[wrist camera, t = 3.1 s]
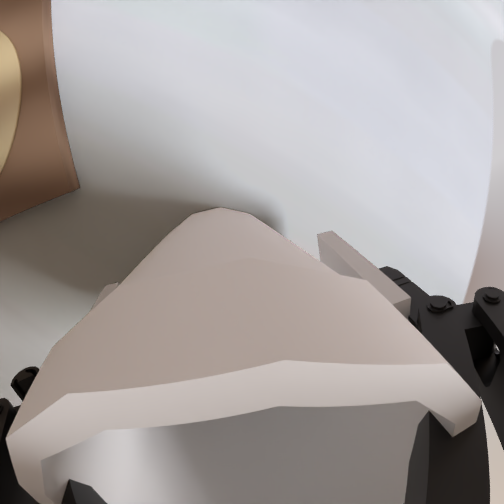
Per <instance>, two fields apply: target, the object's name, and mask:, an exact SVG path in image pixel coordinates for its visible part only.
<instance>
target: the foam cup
mask: <svg viewBox="0 0 504 504" xmlns="http://www.w3.org/2000/svg"><path fill="white" fill-rule="evenodd" d="M481 404H482V400H481V399H480V398H479V397H478V396H477V395H476V393H475V392H474V391H473V390H472V389H471V388H470V386H469V385H468V384H467V383H466V382H465V381H464V380H463V379H462V377H461V376H460V375H459V374H458V373H457V372H456V371H455V370H454V368H453V367H452V366H451V365H450V364H449V363H448V362H447V361H446V360H445V359H444V357H443V356H442V355H441V354H440V353H439V352H438V351H437V350H436V349H435V348H434V347H433V346H432V345H431V344H430V342H429V341H428V340H427V339H426V338H425V337H424V336H423V335H422V334H421V333H420V332H419V331H418V330H417V329H416V328H415V327H414V326H413V325H412V324H411V323H410V322H409V321H408V320H407V319H406V318H405V317H404V316H403V315H402V314H401V313H400V312H399V311H398V310H397V309H396V308H395V307H394V306H393V305H392V304H391V303H390V302H389V301H388V300H387V299H386V298H385V297H384V296H383V295H382V294H381V293H380V292H379V291H378V290H377V289H376V288H375V287H374V286H372V285H371V284H370V283H369V282H368V281H367V280H363V279H358V278H353V277H348V276H343V275H339V274H338V273H336V272H335V271H334V270H332V269H331V268H329V267H328V266H326V265H325V264H323V263H322V262H321V261H319V260H318V259H316V258H315V257H313V256H312V255H310V254H309V253H307V252H306V251H304V250H303V249H302V248H300V247H299V246H297V245H296V244H294V243H293V242H291V241H290V240H288V239H287V238H285V237H284V236H282V235H281V234H279V233H278V232H276V231H275V230H273V229H272V228H270V227H269V226H267V225H266V224H264V223H263V222H261V221H260V220H258V219H257V218H255V217H254V216H252V215H250V214H249V213H245V212H240V211H236V210H231V209H227V208H222V207H219V208H215V209H210V210H206V211H202V212H198V213H193V214H192V215H190V216H189V217H188V218H187V219H185V220H184V221H183V222H182V223H181V224H179V225H178V226H177V227H176V228H174V229H173V230H172V231H171V232H170V233H169V234H168V235H167V236H166V237H165V238H164V239H163V240H162V241H161V242H160V243H159V244H158V245H157V246H156V247H155V248H154V249H153V250H152V251H151V252H150V253H149V254H148V255H147V256H146V257H145V258H144V259H143V260H142V261H141V262H140V263H139V265H138V266H137V267H136V268H135V269H134V270H133V271H132V272H131V273H130V274H129V275H128V276H127V277H126V278H125V280H124V281H123V282H122V283H121V284H120V285H119V286H118V287H117V288H116V289H115V290H114V291H113V292H112V293H110V294H109V295H108V296H107V297H106V298H105V299H104V300H103V301H101V302H100V303H99V304H98V305H97V306H96V307H95V308H94V309H93V310H92V311H90V312H89V313H88V314H87V315H86V316H85V317H84V318H83V319H82V320H81V321H80V322H79V323H77V324H76V325H75V326H74V327H73V328H72V329H71V330H70V331H69V332H68V333H67V334H66V335H65V336H64V337H63V338H62V339H61V340H59V341H58V342H57V343H56V344H55V345H54V346H53V347H52V349H51V351H50V352H49V354H48V356H47V358H46V359H45V361H44V363H43V365H42V366H41V368H40V370H39V372H38V374H37V376H36V377H35V379H34V381H33V383H32V385H31V387H30V389H29V391H28V393H27V394H26V396H25V398H24V400H23V402H22V404H21V406H20V408H19V410H18V413H17V415H16V417H15V419H14V421H13V423H12V425H11V427H10V430H9V432H8V434H7V436H6V442H7V446H8V450H9V454H10V458H11V461H12V464H13V468H14V471H15V474H16V477H17V480H18V483H19V485H20V486H21V487H22V488H23V489H24V490H25V491H27V492H28V493H29V494H30V495H31V496H32V497H33V498H34V499H35V500H36V501H37V502H39V503H40V504H61V502H62V499H63V496H64V493H65V489H66V486H67V483H68V480H69V479H71V480H74V481H77V482H80V483H83V484H86V485H89V486H91V487H92V488H93V489H94V490H95V491H96V492H97V493H98V494H99V495H100V496H101V498H102V499H103V500H104V501H105V502H106V503H107V504H404V502H405V494H406V486H407V477H408V467H409V460H410V457H411V453H412V449H413V445H414V441H415V436H416V432H417V427H418V424H419V423H420V421H421V420H422V419H423V417H424V416H425V415H426V413H427V412H428V411H430V412H431V413H432V414H433V415H434V416H435V418H436V419H437V420H438V421H439V422H440V423H441V424H442V426H443V427H444V428H445V429H446V430H447V431H448V432H449V434H450V435H451V436H452V437H454V436H455V435H457V434H459V433H460V432H462V431H463V430H465V429H467V428H468V427H470V426H471V425H473V424H474V423H476V421H477V417H478V414H479V411H480V407H481Z"/></svg>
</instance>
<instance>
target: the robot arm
mask: <svg viewBox="0 0 504 504" xmlns="http://www.w3.org/2000/svg"><path fill="white" fill-rule="evenodd" d="M317 238H318V246H319V254H320V261H321V262H322V263H323V264H325V265H326V266H328V267H329V268H331V269H332V270H334V271H335V272H336V273H338V274H339V275H343V276H348V277H353V278H358V279H363V280H367V281H368V282H369V283H370V284H371V285H372V286H374V287H375V288H376V289H377V290H378V291H379V292H380V293H381V294H382V295H383V296H384V297H385V298H386V299H387V300H388V301H389V302H390V303H391V304H392V305H393V306H394V307H395V308H396V309H397V310H398V311H399V312H400V313H401V314H402V315H403V316H404V317H405V318H406V319H407V320H408V321H409V322H410V323H411V324H412V325H413V326H414V327H415V328H416V329H417V330H418V331H419V332H420V333H421V334H422V335H423V336H424V337H425V338H426V339H427V340H428V341H429V342H430V344H431V345H432V346H433V347H434V348H435V349H436V350H437V351H438V352H439V353H440V354H441V355H442V356H443V357H444V359H445V360H446V361H447V362H448V363H449V364H450V365H451V366H452V367H453V368H454V370H455V371H456V372H457V373H458V374H459V375H460V376H461V377H462V379H463V380H464V381H465V382H466V383H467V384H468V385H469V386H470V388H471V389H472V390H473V391H474V392H475V393H476V395H477V396H478V397H479V398H480V397H481V398H480V399H482V401H483V403H484V405H485V407H486V409H487V412H488V414H489V416H490V418H491V421H492V423H493V425H494V427H495V430H496V432H497V435H498V437H499V440H500V442H501V445H502V447H503V450H504V292H503V291H502V290H499V289H497V288H494V287H484V288H481V289H479V290H477V291H476V293H475V297H474V302H472V303H466V304H460V305H456V304H455V302H454V301H453V300H451V299H450V298H447V297H444V296H436V295H435V296H429V295H428V294H427V293H425V292H424V291H423V290H422V289H421V288H419V287H418V286H417V285H416V284H414V283H413V282H411V280H409V279H408V278H407V277H405V276H404V275H403V274H402V273H401V272H399V271H398V270H396V269H393V268H390V267H388V266H386V267H383V268H379V269H378V268H377V267H376V266H374V265H373V264H372V263H371V262H370V261H368V260H367V259H366V258H365V257H364V256H363V255H361V254H360V253H359V252H358V251H356V250H355V249H354V248H353V247H352V246H350V245H349V244H348V243H347V242H346V241H344V240H343V239H342V238H341V237H339V236H338V235H337V234H336V233H334V232H333V231H328V232H324V233H320V234H317ZM119 285H120V284H119V282H118V283H114V284H109V285H105V287H104V288H103V290H102V292H101V293H100V295H99V297H98V298H97V300H96V302H95V303H94V305H93V307H92V309H91V310H90V311H92V310H93V309H94V308H95V307H96V306H97V305H98V304H99V303H100V302H101V301H103V300H104V299H105V298H106V297H107V296H108V295H109V294H110V293H112V292H113V291H114V290H115V289H116V288H117V287H118V286H119ZM496 345H497V347H498V349H499V351H498V350H497V348H496ZM38 372H39V368H37V367H28V368H25V369H23V370H22V371H20V372H19V373H18V374H17V375H16V376H15V377H14V378H13V380H12V382H11V386H12V388H13V389H14V391H15V392H16V393H17V395H18V396H19V397H20V398H21V400H22V401H23V400H24V398H25V396H26V394H27V393H28V391H29V389H30V387H31V385H32V383H33V381H34V379H35V377H36V376H37V374H38ZM20 406H21V405H19V406H16V407H13V406H12V404H11V403H10V402H9V401H8V400H7V399H5V398H1V399H0V504H40V503H39V502H37V501H36V500H35V499H34V498H33V497H32V496H31V495H30V494H29V493H28V492H27V491H25V490H24V489H23V488H22V487H21V486H20V485H19V483H18V480H17V477H16V474H15V471H14V468H13V464H12V461H11V458H10V454H9V450H8V446H7V442H6V436H7V434H8V432H9V430H10V427H11V425H12V423H13V421H14V419H15V417H16V415H17V413H18V410H19V408H20ZM61 504H107V503H106V502H105V501H104V500H103V499H102V498H101V496H100V495H99V494H98V493H97V492H96V491H95V490H94V489H93V488H92V487H91V486H89V485H86V484H83V483H80V482H77V481H74V480H71V479H69V480H68V483H67V486H66V489H65V493H64V496H63V499H62V502H61ZM404 504H490V479H489V461H488V449H487V439H486V430H485V423H484V416H483V410H482V404H481V407H480V411H479V414H478V417H477V421H476V423H474V424H473V425H471V426H470V427H468V428H467V429H465V430H463V431H462V432H460V433H459V434H457V435H455V436H454V437H452V436H451V435H450V434H449V432H448V431H447V430H446V429H445V428H444V427H443V426H442V424H441V423H440V422H439V421H438V420H437V419H436V418H435V416H434V415H433V414H432V413H431V412H430V411H428V412H427V413H426V415H425V416H424V417H423V419H422V420H421V421H420V423H419V424H418V427H417V432H416V436H415V441H414V445H413V449H412V453H411V457H410V460H409V467H408V477H407V486H406V494H405V502H404Z"/></svg>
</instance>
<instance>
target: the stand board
mask: <svg viewBox="0 0 504 504" xmlns="http://www.w3.org/2000/svg"><path fill="white" fill-rule="evenodd" d="M78 188H80V186H79V182H78V178H77V175H76V171H75V167H74V163H73V159H72V155H71V151H70V146H69V142H68V137H67V133H66V128H65V123H64V118H63V113H62V107H61V101H60V95H59V89H58V82H57V75H56V67H55V58H54V49H53V37H52V21H51V0H0V221H3V220H5V219H7V218H9V217H11V216H13V215H16V214H18V213H20V212H22V211H25V210H27V209H29V208H32V207H34V206H36V205H39V204H41V203H44V202H46V201H49V200H51V199H54V198H56V197H59V196H61V195H64V194H66V193H69V192H71V191H74V190H76V189H78Z"/></svg>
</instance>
